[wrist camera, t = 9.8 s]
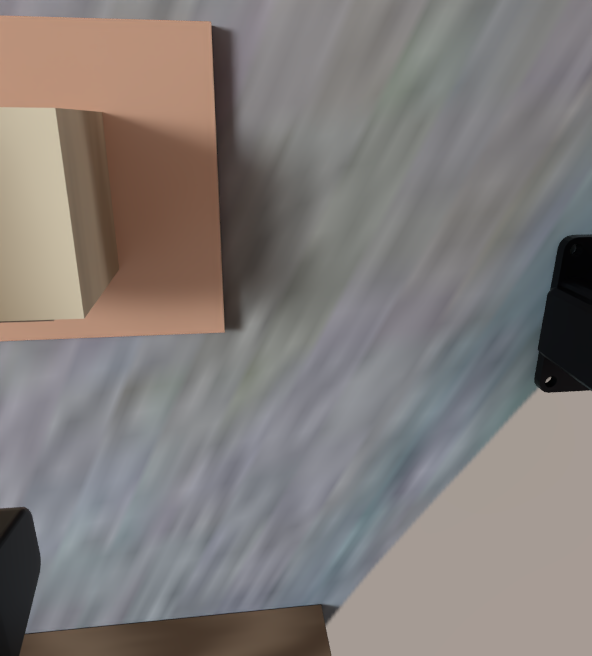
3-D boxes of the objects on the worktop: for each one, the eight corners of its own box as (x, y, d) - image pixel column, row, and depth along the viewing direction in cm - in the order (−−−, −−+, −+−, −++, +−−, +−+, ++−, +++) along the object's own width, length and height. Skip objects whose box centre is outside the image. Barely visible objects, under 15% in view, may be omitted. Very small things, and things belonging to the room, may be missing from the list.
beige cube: (101, 111, 17) (54, 107, 12) (120, 277, 19) (86, 329, 14) (-72, 109, 16) (-192, 104, 11) (-35, 281, 18) (-125, 336, 13)
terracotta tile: (211, 24, 17) (211, 21, 16) (224, 326, 20) (224, 332, 20) (-216, 13, 15) (-233, 9, 15) (-122, 339, 19) (-132, 346, 18)
